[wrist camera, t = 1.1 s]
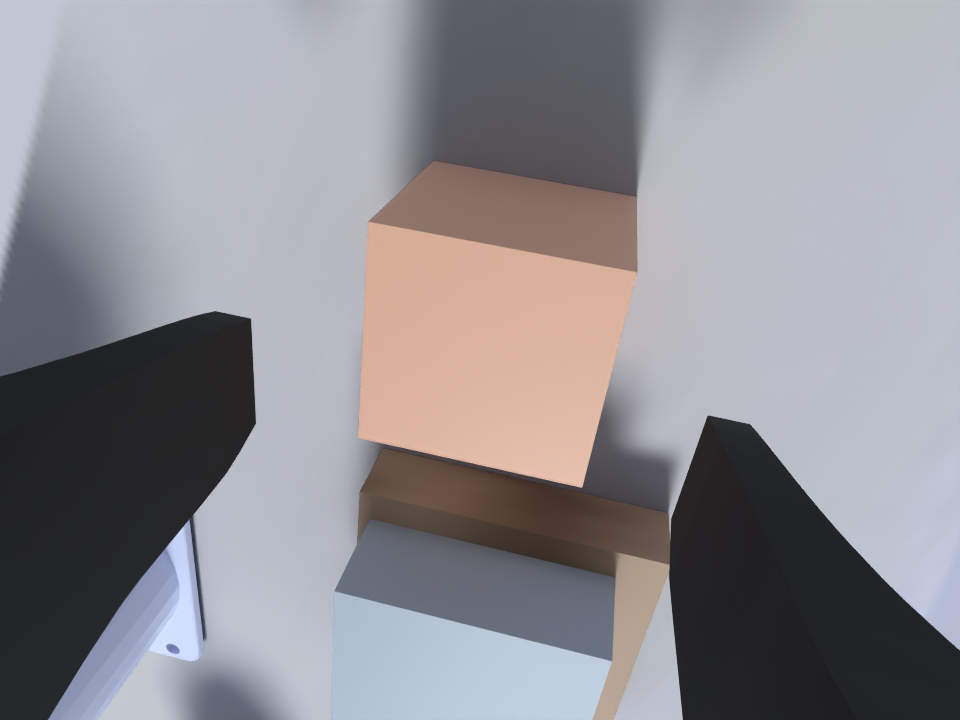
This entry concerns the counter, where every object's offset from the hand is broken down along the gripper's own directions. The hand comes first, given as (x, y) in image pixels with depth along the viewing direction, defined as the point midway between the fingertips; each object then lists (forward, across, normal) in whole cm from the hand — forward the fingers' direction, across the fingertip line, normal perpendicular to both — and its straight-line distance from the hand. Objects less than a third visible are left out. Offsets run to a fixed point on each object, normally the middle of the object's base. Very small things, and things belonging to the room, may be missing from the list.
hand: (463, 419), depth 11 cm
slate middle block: (+4, 0, +10) cm, 11 cm away
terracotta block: (+6, 0, 0) cm, 6 cm away
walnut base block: (+7, -1, +10) cm, 12 cm away
